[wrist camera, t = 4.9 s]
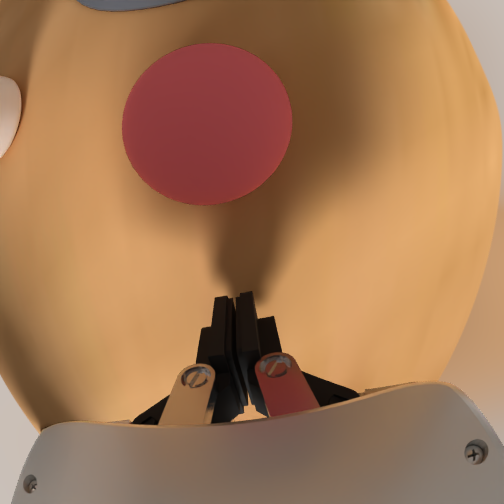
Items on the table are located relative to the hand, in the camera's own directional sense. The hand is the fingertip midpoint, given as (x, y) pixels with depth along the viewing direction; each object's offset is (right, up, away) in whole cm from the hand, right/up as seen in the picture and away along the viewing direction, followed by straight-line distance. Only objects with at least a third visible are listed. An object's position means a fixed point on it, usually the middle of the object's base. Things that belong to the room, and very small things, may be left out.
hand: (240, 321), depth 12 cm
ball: (-1, +7, -4) cm, 8 cm away
